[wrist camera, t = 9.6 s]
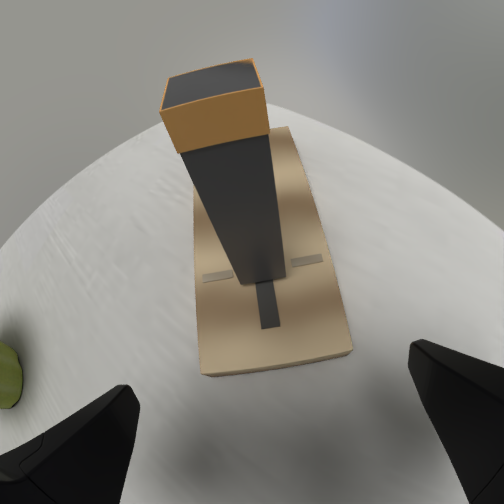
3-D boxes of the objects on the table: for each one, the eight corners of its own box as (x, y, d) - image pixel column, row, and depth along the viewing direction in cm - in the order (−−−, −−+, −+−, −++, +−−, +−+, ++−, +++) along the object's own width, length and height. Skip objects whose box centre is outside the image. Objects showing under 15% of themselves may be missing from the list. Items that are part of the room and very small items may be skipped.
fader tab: (287, 277, 16) (263, 87, 6) (239, 285, 16) (159, 111, 6) (280, 244, 17) (252, 58, 7) (236, 252, 17) (167, 78, 7)
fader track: (347, 355, 15) (353, 349, 14) (211, 377, 16) (200, 373, 14) (289, 143, 24) (287, 125, 22) (200, 160, 25) (194, 143, 23)
